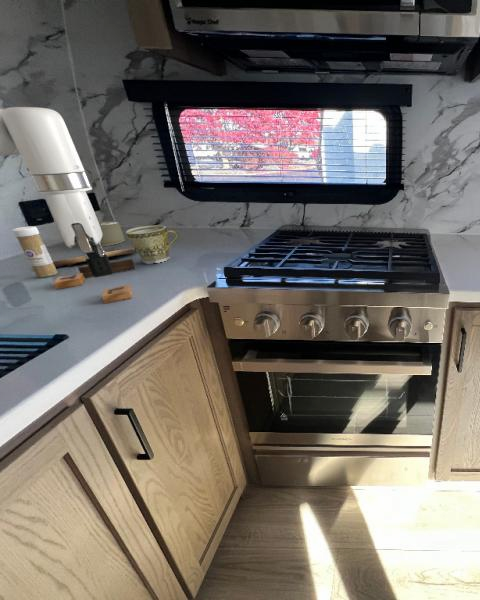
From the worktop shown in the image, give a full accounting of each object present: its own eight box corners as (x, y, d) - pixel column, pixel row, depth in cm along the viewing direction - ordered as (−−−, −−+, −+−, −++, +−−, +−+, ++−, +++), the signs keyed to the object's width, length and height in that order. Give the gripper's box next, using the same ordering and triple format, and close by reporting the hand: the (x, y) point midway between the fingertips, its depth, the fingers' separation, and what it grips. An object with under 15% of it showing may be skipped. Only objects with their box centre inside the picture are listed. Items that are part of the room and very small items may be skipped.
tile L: (104, 303, 76) (101, 296, 75) (106, 296, 80) (103, 289, 79) (131, 298, 79) (128, 290, 78) (131, 291, 83) (129, 284, 82)
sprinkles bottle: (33, 279, 91) (7, 230, 85) (41, 273, 94) (17, 226, 89) (54, 276, 92) (30, 228, 86) (62, 271, 96) (39, 225, 90)
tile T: (56, 289, 84) (53, 282, 83) (60, 283, 88) (57, 276, 87) (82, 284, 87) (79, 278, 86) (85, 279, 90) (82, 272, 89)
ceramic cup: (130, 267, 98) (117, 234, 94) (148, 256, 107) (137, 226, 103) (177, 264, 100) (167, 231, 96) (191, 254, 109) (181, 224, 105)
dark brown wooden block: (81, 278, 90) (76, 269, 89) (82, 275, 93) (78, 266, 92) (134, 269, 97) (131, 260, 96) (135, 266, 99) (131, 258, 98)
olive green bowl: (84, 243, 123) (75, 224, 120) (124, 237, 130) (117, 219, 127) (85, 250, 115) (76, 230, 112) (127, 243, 122) (120, 224, 119)
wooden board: (138, 248, 116) (137, 245, 115) (140, 254, 108) (139, 251, 108) (41, 264, 102) (39, 261, 102) (35, 272, 95) (34, 269, 95)
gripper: (44, 182, 65) (85, 269, 74) (25, 189, 54) (75, 290, 63) (93, 179, 69) (127, 261, 77) (84, 185, 58) (125, 281, 66)
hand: (104, 274), depth 70 cm, fingers closed
